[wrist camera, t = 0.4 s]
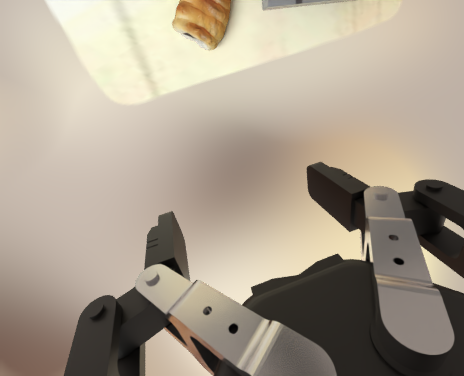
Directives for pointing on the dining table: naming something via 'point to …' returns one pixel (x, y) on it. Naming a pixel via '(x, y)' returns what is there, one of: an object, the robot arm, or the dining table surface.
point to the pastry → (202, 21)
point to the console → (294, 3)
